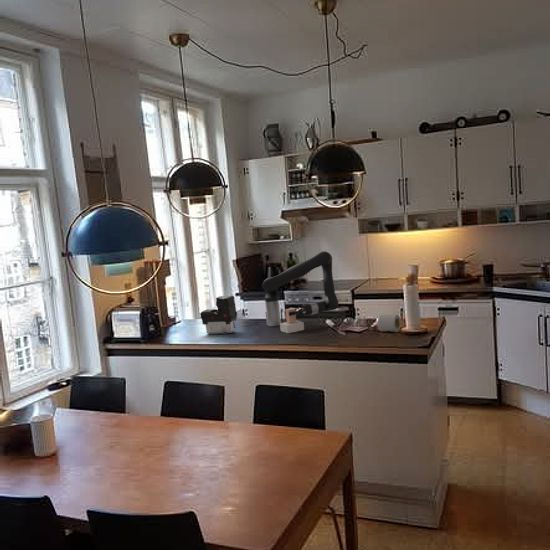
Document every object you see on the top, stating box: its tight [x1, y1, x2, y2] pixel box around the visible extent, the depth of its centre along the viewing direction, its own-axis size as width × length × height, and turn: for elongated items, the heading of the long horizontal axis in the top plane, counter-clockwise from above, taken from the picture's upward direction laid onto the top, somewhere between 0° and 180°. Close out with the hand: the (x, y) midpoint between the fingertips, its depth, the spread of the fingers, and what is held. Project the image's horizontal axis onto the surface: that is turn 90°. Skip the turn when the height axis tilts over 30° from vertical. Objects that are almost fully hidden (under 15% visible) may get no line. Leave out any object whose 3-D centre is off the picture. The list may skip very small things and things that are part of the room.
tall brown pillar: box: [284, 307, 297, 324], centre depth 356 cm, size 5×4×14 cm
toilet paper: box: [377, 314, 402, 333], centre depth 330 cm, size 10×10×10 cm
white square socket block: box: [279, 319, 305, 334], centre depth 357 cm, size 12×10×6 cm
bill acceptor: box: [199, 294, 238, 335], centre depth 375 cm, size 10×23×25 cm, turn 70°
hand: (287, 313), depth 355 cm, fingers open, 5 cm apart
